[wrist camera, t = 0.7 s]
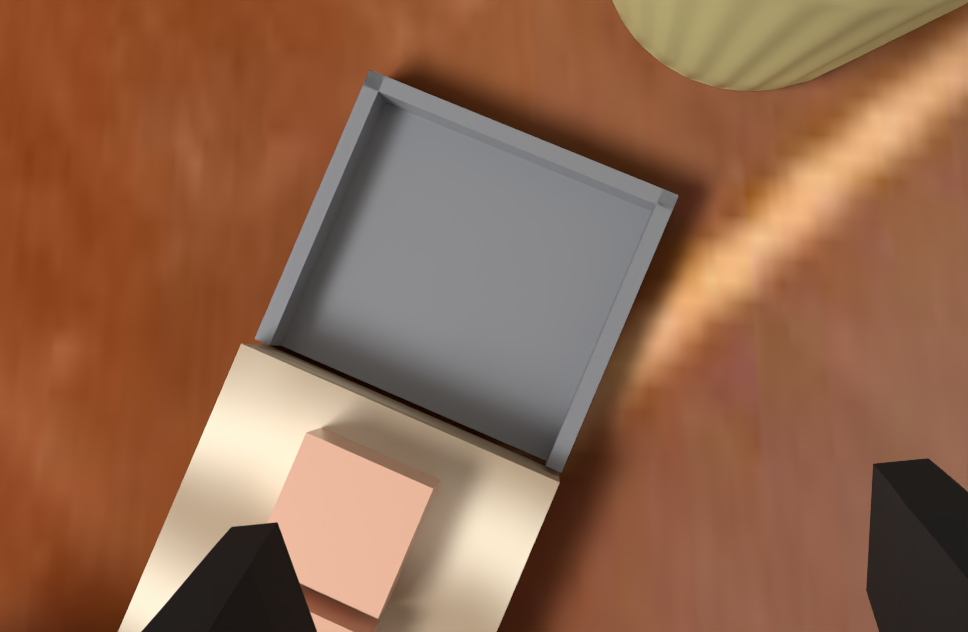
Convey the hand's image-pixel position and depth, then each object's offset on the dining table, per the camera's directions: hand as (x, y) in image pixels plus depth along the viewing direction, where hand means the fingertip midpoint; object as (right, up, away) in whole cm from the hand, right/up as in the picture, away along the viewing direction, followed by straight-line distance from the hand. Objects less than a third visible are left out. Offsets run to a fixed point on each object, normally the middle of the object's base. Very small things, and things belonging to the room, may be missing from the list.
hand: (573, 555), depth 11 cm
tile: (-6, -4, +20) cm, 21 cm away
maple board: (-6, -6, +23) cm, 25 cm away
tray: (-2, +5, +23) cm, 24 cm away
